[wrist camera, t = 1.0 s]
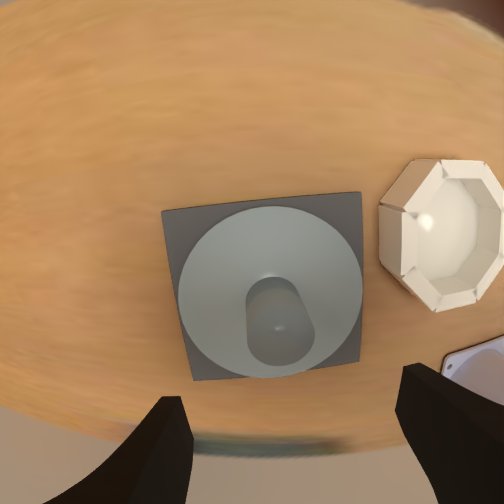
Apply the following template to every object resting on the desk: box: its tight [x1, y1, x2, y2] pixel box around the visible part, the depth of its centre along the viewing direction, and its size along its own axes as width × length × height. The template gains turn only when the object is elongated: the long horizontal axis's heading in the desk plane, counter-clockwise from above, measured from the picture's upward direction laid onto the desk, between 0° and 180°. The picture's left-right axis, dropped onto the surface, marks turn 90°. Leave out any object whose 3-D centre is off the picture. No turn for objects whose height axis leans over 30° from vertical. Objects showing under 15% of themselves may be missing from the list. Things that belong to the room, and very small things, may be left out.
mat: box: [161, 192, 363, 381], centre depth 19 cm, size 11×11×1 cm
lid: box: [178, 205, 363, 378], centre depth 16 cm, size 10×10×5 cm
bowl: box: [378, 159, 504, 312], centre depth 17 cm, size 9×9×3 cm
